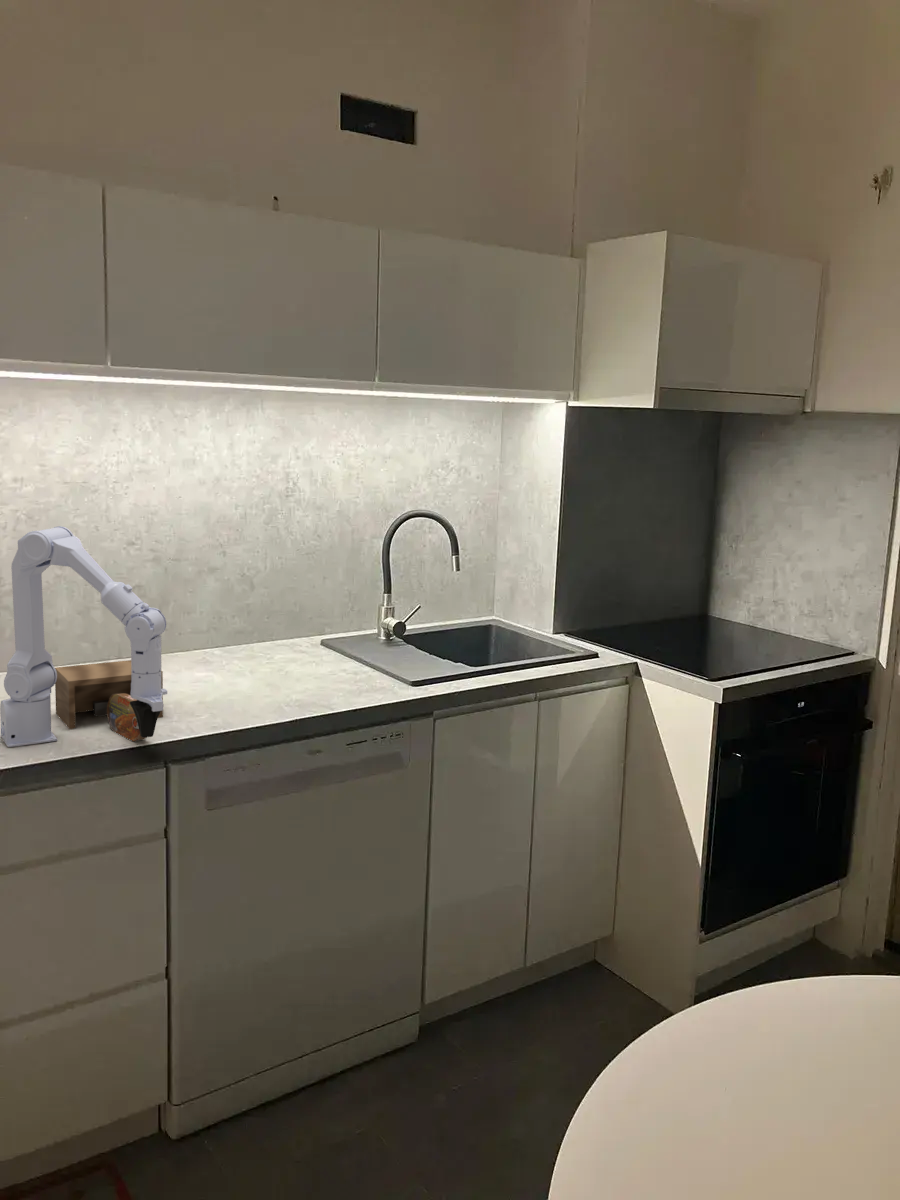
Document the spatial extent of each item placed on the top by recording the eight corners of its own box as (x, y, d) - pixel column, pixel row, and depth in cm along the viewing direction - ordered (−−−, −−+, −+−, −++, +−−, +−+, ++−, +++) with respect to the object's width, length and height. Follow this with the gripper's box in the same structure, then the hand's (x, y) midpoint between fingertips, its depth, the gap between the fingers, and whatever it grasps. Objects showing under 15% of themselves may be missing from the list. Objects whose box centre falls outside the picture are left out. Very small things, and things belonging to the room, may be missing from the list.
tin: (105, 727, 216) (105, 689, 215) (119, 724, 219) (119, 687, 217) (139, 746, 206) (139, 706, 204) (154, 743, 208) (153, 704, 207)
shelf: (69, 729, 214) (68, 681, 212) (55, 713, 224) (54, 667, 222) (162, 717, 225) (162, 671, 223) (145, 702, 235) (145, 658, 233)
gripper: (178, 677, 196) (178, 744, 198) (154, 660, 208) (155, 723, 210) (142, 681, 192) (142, 749, 194) (120, 663, 204) (121, 727, 206)
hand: (146, 736), depth 202 cm, fingers closed
